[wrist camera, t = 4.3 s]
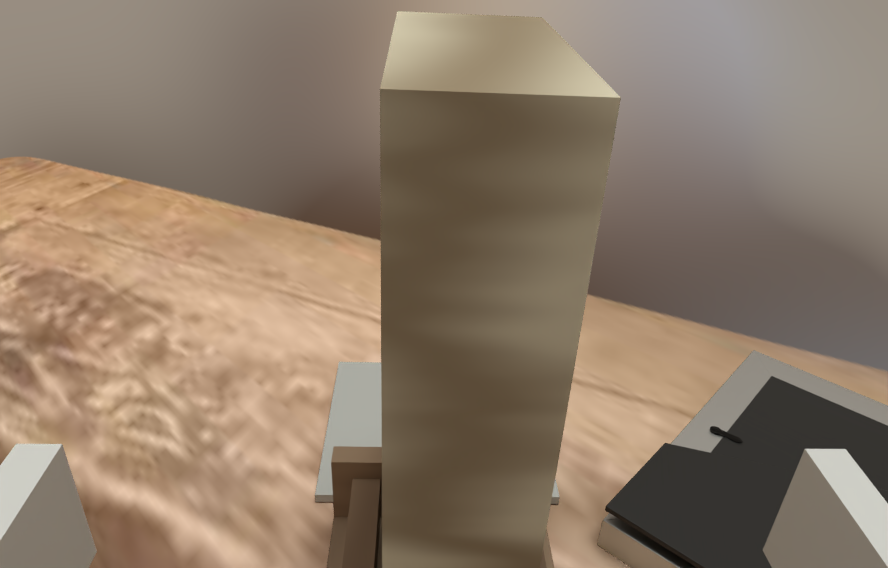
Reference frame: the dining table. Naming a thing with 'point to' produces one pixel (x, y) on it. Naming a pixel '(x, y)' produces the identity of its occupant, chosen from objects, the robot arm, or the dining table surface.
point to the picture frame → (739, 468)
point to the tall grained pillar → (482, 278)
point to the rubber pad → (356, 419)
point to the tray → (365, 510)
